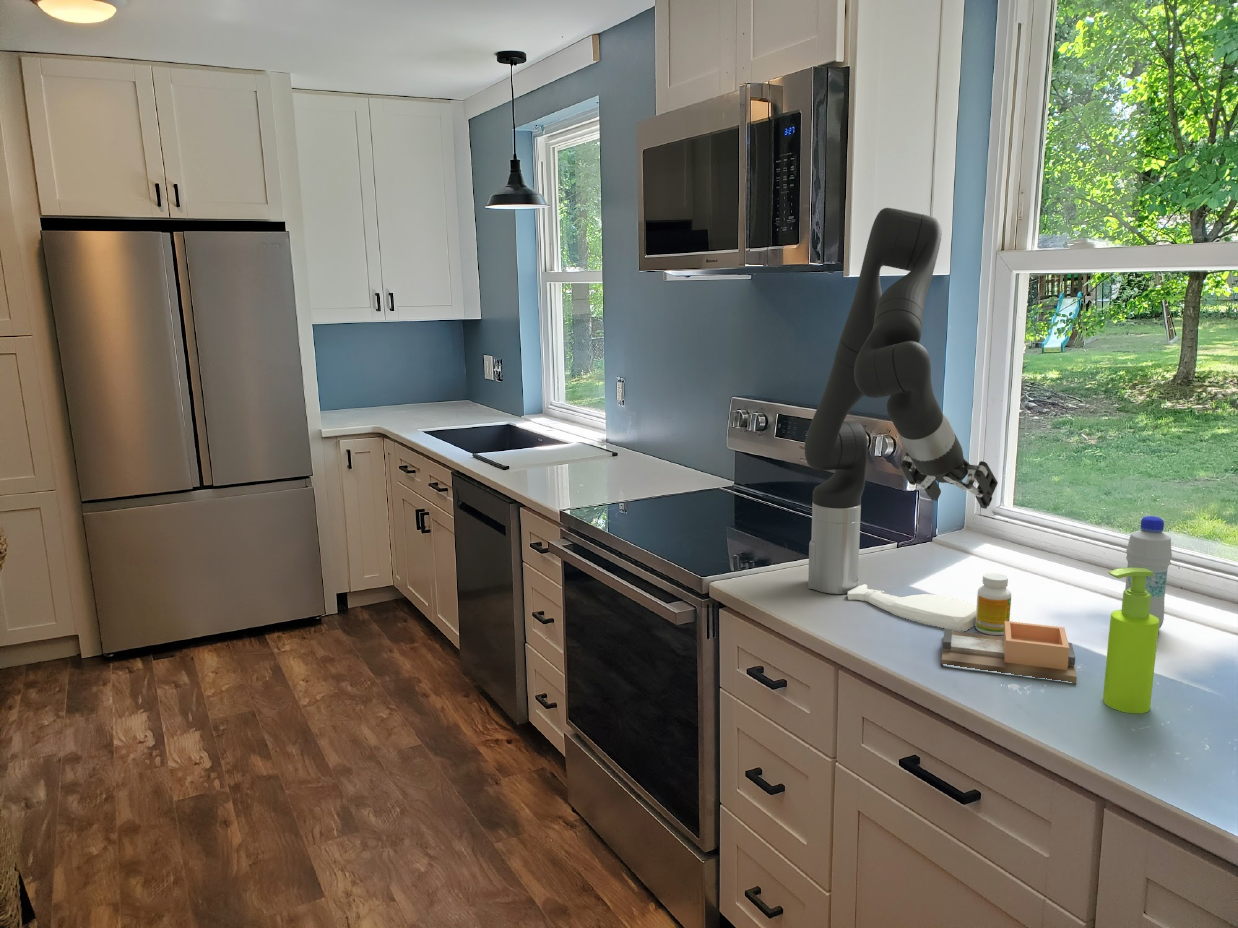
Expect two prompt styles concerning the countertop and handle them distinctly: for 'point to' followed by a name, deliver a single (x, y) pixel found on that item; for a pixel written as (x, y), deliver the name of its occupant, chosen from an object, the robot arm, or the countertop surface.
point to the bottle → (1151, 560)
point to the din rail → (983, 646)
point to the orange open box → (1035, 645)
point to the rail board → (1003, 663)
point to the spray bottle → (922, 608)
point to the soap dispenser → (1131, 647)
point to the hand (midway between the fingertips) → (961, 500)
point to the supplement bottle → (993, 604)
